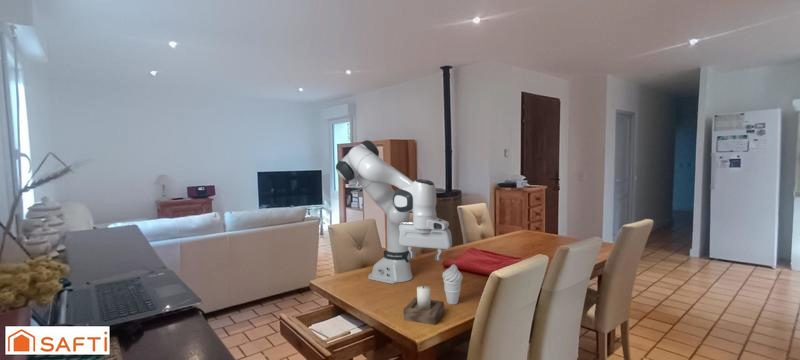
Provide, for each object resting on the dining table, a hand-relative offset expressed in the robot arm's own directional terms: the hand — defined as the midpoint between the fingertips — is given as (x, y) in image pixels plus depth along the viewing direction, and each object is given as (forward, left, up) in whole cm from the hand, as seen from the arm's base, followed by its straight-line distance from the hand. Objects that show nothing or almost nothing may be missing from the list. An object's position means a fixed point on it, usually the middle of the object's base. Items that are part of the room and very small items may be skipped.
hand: (425, 258), depth 139 cm
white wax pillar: (0, -1, -18) cm, 19 cm away
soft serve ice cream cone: (+7, +15, -22) cm, 27 cm away
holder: (0, -1, -22) cm, 22 cm away
